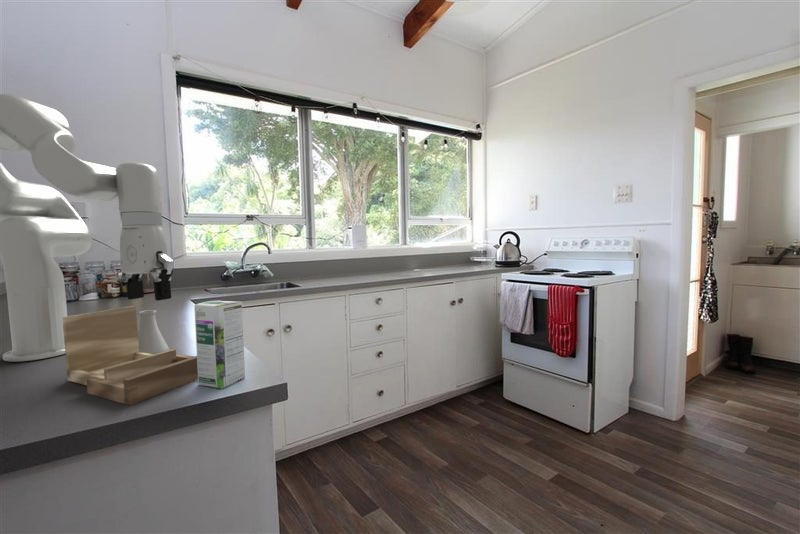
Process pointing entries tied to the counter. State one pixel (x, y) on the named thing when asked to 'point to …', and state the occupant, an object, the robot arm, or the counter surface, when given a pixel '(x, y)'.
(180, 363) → the bay
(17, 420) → the counter surface
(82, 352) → the wooden tablet stand
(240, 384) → the counter surface
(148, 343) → the flask
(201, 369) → the syrup box
